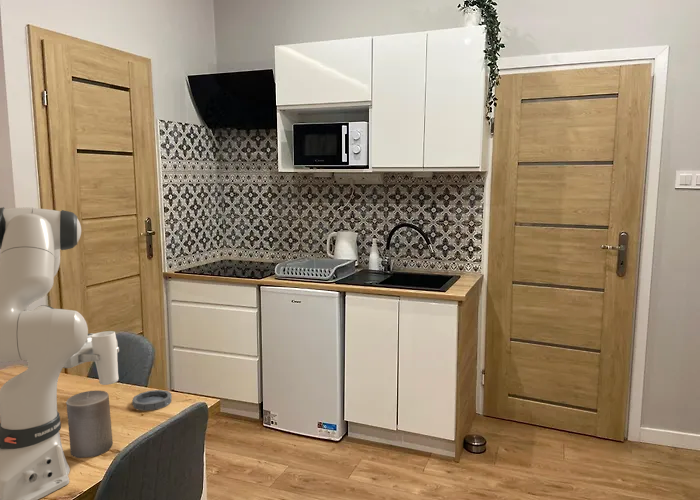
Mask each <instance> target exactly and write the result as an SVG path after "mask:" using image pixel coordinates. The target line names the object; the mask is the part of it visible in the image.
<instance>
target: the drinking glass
mask: <svg viewBox="0 0 700 500" xmlns="http://www.w3.org/2000/svg"><path fill="white" fill-rule="evenodd" d="M116 339H117V336H116V331H114V330H108V331H101V332H100V331H99V332H96V333H93V335H92V336H91V342H92V349H93V354H99V355H100V360H98V361H96V362H95V361H94V363H95V367H96V370H97V376H98V381H99V384H100V385H102V386H107V385H108V386H109V385H112V384H115V383H117V382H118V381H119V379H120V378H119V377H120V376H119V364H118V360H119V359H118V353H117V341H118V339H117V340H116Z"/></svg>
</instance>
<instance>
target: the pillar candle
mask: <svg viewBox="0 0 700 500" xmlns="http://www.w3.org/2000/svg"><path fill="white" fill-rule="evenodd" d="M65 404H66V414H67V423H68V424H67V427H68V435H69V436H68V437H69V448H70V455H71V456H72V457H74V458H77V459H81V458H92V457H97V456H100V455H102V454H105V453H106V452H108V451H109V450H111V448H112V446H113V442H114V440H113V431H112V430H113V429H112V418H111V417H112V416H111V407H110V406H111V405H110V398H109V393H108V392H107V391H105V390H87V391H82V392H79V393H76V394H74V395H72V396H69V398H67V400H66V402H65Z"/></svg>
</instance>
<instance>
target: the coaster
mask: <svg viewBox="0 0 700 500" xmlns="http://www.w3.org/2000/svg"><path fill="white" fill-rule="evenodd" d="M131 403H132V406H133V408H134V409H135V410H138V411H143V412H144V411H146V412H147V411H148V412H149V411H155V410H160V409H162V408H165V407H168V406H169V405H170V404H171V403H172V393H171V392H169V391H168V390H162V389H157V390H148V391H145V392H140V393H139V394H136V395H134V396H133V397H132V401H131Z"/></svg>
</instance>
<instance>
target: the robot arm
mask: <svg viewBox="0 0 700 500" xmlns="http://www.w3.org/2000/svg"><path fill="white" fill-rule="evenodd" d="M81 235H82V225H81V222H80V220H79V219H78V215H77V214H75V213H74V212H72V211H68V210H63V209H61V211H60V210H55V209H48V208H36V207H35V208H34V207H11V208H10V207H9V208H5V207H4V206H3V207H0V364H3V363H13V362H14V363H15V362H21V361H23V362H27V369H26V370H24V371H22V372H21V373H19V374H17V375H15V376H14V377H12V378H10V379H8V381H6V382H5V383H4V384H3V385H2V386H1V388H0V500H40V499H41V498H44V497H46V496H48V495H50V494H51V493H54V492H55V491H57V490H59V489H61V488H63V487H65V486H67V485H68V484H69V483H70V478H69V473H70V471H71V469H70V465H69V464H68V462H67V459H66V456H65V453H64V449H63V445H62V440H61V435H60V430H61V427H62V426H61V416H60V412H59V411H58V404H57V403H58V398H57V397H58V396H57V395H58V394H57V393H58V380H59V377H60V375H61V372H62V370H63V368H64V369H72V368H74V367H76V366H79V365H82V364H85V363H88V362H94V363H95V362H96V361H98V360H100V355H99V354H93V349H92V342H91V336H92V335H93V334H94V332H93V333H91V332H90V333H89V327H88V323H87V321H86V319H85V318H84V316H83V314H81V313H80V312H79V311H77V310H74V309H73V310H72V309H65V308H54V307H53V306H50V305H44V304H43V305H39V306H37V307H36V308H34V309H32V310H29V306H30V305H31V304H32V303H34V302H36V301H38V300H40V299H43V298H44V297H45V296H47V294H48V293H49V292H50V291H51V290H52V288H53V287H54V284H55V283H54V279H55V276H57V274H58V271H59V269H60V264H61V251H66V250H71V249H73V248H75V247H76V246H77V245H78V243H79V241H80V239H81ZM116 340H117V354H118V353H120V346H118V345H119V343H118V338H116Z"/></svg>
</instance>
